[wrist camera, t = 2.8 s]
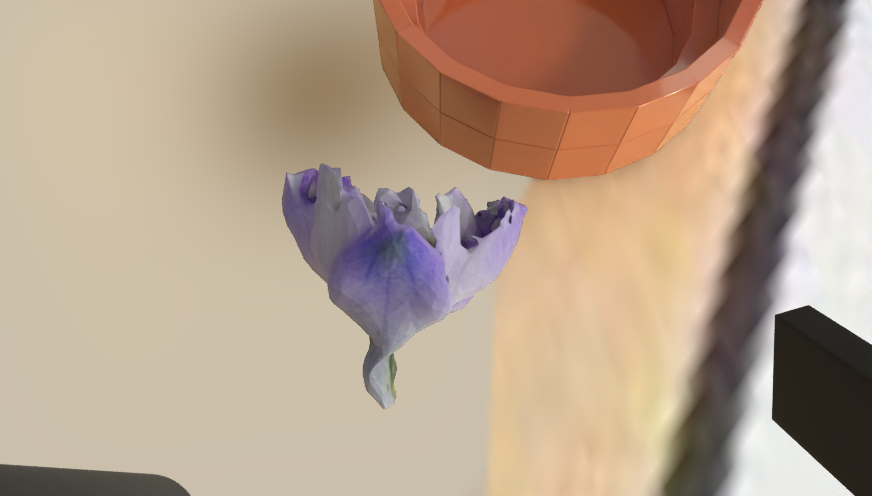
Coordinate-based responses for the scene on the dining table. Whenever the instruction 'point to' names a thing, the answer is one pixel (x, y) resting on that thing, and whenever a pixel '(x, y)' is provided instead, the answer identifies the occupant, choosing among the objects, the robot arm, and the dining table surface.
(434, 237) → the flower
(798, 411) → the robot arm
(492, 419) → the dining table surface
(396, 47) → the pot
